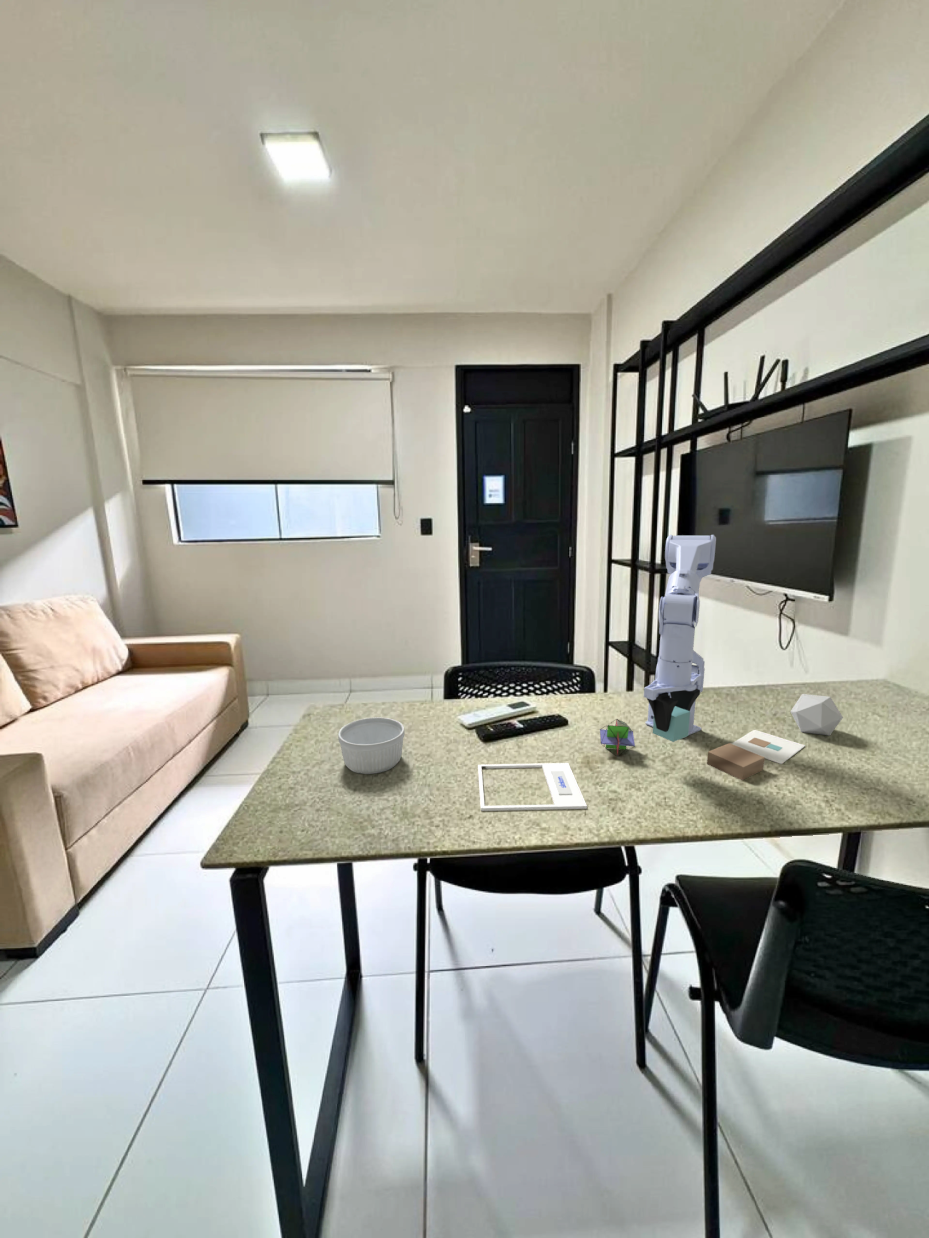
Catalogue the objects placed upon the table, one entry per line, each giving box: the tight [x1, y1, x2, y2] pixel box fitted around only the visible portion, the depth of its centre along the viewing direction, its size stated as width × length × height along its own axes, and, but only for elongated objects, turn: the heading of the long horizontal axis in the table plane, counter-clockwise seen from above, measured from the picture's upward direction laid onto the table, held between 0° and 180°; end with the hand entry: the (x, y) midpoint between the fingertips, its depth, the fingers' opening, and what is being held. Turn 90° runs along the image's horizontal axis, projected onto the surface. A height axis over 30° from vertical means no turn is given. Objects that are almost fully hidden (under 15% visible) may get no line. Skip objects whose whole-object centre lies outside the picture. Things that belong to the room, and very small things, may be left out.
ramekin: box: [337, 716, 405, 775], centre depth 98 cm, size 13×13×7 cm
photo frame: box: [477, 762, 588, 812], centre depth 88 cm, size 15×1×18 cm
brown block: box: [706, 742, 766, 781], centre depth 93 cm, size 7×7×3 cm
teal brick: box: [652, 706, 690, 743], centre depth 92 cm, size 4×4×5 cm
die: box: [790, 693, 844, 737], centre depth 107 cm, size 8×9×10 cm
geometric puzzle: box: [599, 718, 636, 758], centre depth 100 cm, size 7×7×8 cm
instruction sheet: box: [731, 729, 806, 765], centre depth 102 cm, size 10×12×1 cm
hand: (670, 726), depth 92 cm, fingers closed on teal brick, 4 cm apart
